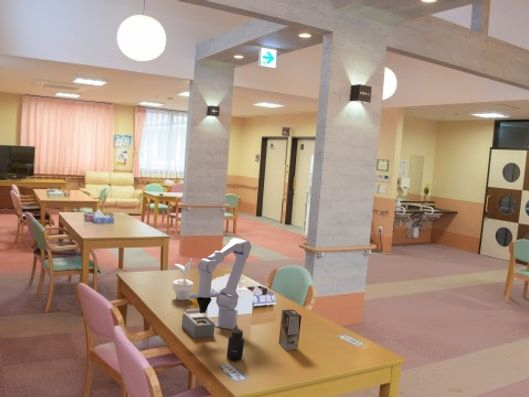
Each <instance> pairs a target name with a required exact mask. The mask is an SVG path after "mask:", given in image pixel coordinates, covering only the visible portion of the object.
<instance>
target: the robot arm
mask: <svg viewBox="0 0 529 397" xmlns="http://www.w3.org/2000/svg"><path fill="white" fill-rule="evenodd" d="M251 249H252V244H251V242H250V240H246V239H245V240H244V239H241V238H237V237H232V238H231V239H230V240H229V241H228V243H227V244H226V246H224V247H223V248H222V249H221V250H215V251H214V252H213V253H212V254H210V255H208V256H207V257H206V258H201V259H200V260H199V261H198V264H197V268H198V274H199V278H198V279H199V280H198V291H197V292H194V293H190V294H189V297H188V299H189V300H194V299H196V301H197V304H198V309H199V311H200V313H201V314H202V313H204V314H206V313H207V310H208V307H209V305H210V303H211V302H212V298H216V299H215V303H216V305H217V308H218V314H217V322H216V323H215V327H216V328H221V329H222V328H223V329H226V330H227V329H228V330H233V329H236V326H237V325H238V323H237V322H238V314H239V313H238V312H239V311H238V309H236V308H237V306H238V300H239V296H240V295H239V294H238V292H237V288H238V286H239V284H240V283H239V282H240V280H241V276H242V274H243V271H244V267H245V265H246V262H247V259H248V258H249V255H250V252H251ZM230 254H233V256H235V260H234V263H233V265H232V268H231V271H230V274H229V277H228V280H227V282H226V285H225V287H224V288H222V289H220V291H219V292H217V291H216V292H215V291H213V292H212V280H213V279H212V278H213V272H215V271H216V268H217V266H219V264H221V263H222V262H223V261H224V260H225V257H227V256H228V255H230ZM215 327H214V328H215Z"/></svg>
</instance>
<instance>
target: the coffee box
mask: <svg viewBox="0 0 529 397" xmlns="http://www.w3.org/2000/svg"><path fill="white" fill-rule="evenodd" d="M280 318H281V319H280V326H279V334H278V335H279V337H278V338H279V339H278V344H279V345H280V346H281V347H282V348H283V349H284V350H285V351H294V350H293V349H299V344H300V343H299V341H300V334H301V333H300V332H301V323H302V315H301V314H300V313H299V312H297V311H296V310H295V309H282V310H281V317H280Z"/></svg>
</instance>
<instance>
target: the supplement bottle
mask: <svg viewBox="0 0 529 397" xmlns="http://www.w3.org/2000/svg"><path fill="white" fill-rule="evenodd" d="M243 334H244V331H243V329H239V328H238V329H237V328H234V329H231V333H230V336H229V337H228V340H227V349H226V359H227V360H229V361H231V362H240V361H242V360H243V355H244V354H243V353H244V347H245V338H244V335H243Z"/></svg>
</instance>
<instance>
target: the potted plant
mask: <svg viewBox="0 0 529 397" xmlns="http://www.w3.org/2000/svg"><path fill="white" fill-rule="evenodd" d="M189 260H190V261H188V262H187V263H186V264H185V265H183V264H179V263H174V266H175V267H176V268H178V270H179V271H180V272H181V273H182V274H183V278H179V279H175V280H173V282H172V283H173V284H172V290H174V294H175V298H176V299H177V300H178V301H187V300H188V299H189V294H191V292H192V291H193V290H194V282H193V281H192V280H189V279H187V276H188V274H187V273H188V272H189V271H190V270H191V266H192V265H193V266H194V265H195V262H193V261H194V260H193V257H192V256H191V257H190V258H189Z"/></svg>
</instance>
